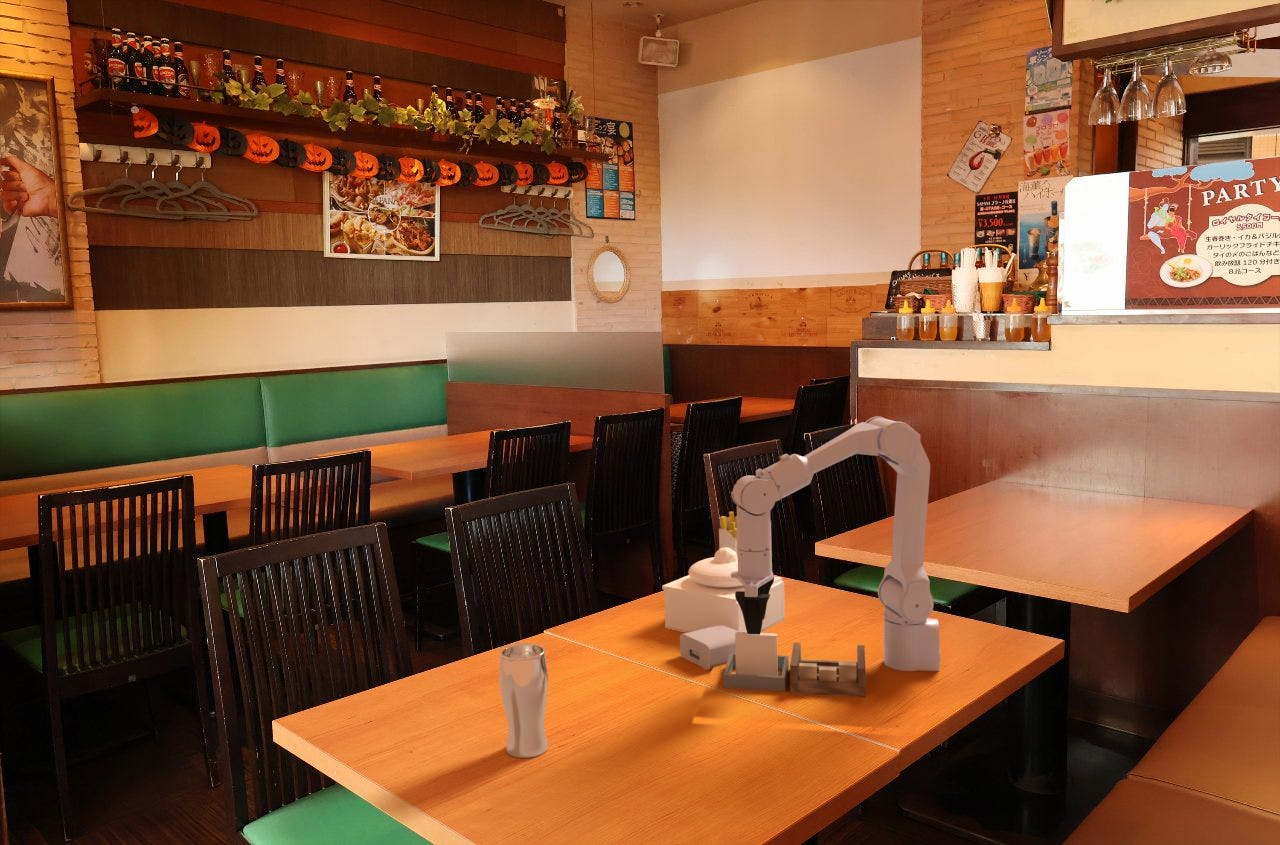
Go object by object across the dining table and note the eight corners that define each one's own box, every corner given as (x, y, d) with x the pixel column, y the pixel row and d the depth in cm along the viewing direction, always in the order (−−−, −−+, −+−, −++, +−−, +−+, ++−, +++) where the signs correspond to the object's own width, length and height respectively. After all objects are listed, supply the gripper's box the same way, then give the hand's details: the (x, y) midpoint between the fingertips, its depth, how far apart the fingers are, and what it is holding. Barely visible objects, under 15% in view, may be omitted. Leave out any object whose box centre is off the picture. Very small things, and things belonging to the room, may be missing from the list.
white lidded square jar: (739, 645, 184) (737, 563, 183) (663, 628, 195) (660, 551, 194) (785, 620, 198) (784, 544, 196) (711, 606, 209) (709, 533, 207)
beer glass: (552, 737, 147) (547, 641, 145) (549, 758, 140) (545, 658, 138) (505, 739, 146) (501, 643, 145) (501, 761, 140) (495, 660, 138)
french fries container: (766, 586, 222) (764, 508, 220) (736, 597, 214) (734, 517, 212) (750, 582, 225) (748, 506, 223) (720, 593, 218) (718, 514, 215)
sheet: (777, 678, 165) (777, 633, 164) (777, 681, 164) (776, 635, 163) (736, 676, 167) (735, 631, 166) (736, 679, 166) (735, 634, 165)
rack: (864, 674, 168) (864, 644, 167) (865, 701, 156) (865, 670, 155) (794, 670, 170) (793, 641, 170) (790, 697, 159) (789, 666, 158)
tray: (788, 672, 170) (788, 655, 169) (785, 695, 160) (784, 677, 159) (730, 669, 172) (730, 653, 171) (723, 692, 162) (722, 674, 161)
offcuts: (856, 688, 159) (856, 662, 159) (856, 692, 158) (856, 665, 157) (799, 685, 161) (799, 659, 161) (799, 689, 160) (799, 663, 159)
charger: (775, 653, 180) (709, 672, 172) (743, 640, 187) (680, 657, 179) (774, 629, 179) (709, 646, 171) (743, 616, 187) (679, 632, 179)
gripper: (735, 537, 171) (737, 612, 172) (725, 558, 157) (727, 639, 158) (775, 537, 169) (777, 613, 171) (769, 559, 155) (770, 641, 157)
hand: (756, 626), depth 165 cm, fingers open, 7 cm apart
